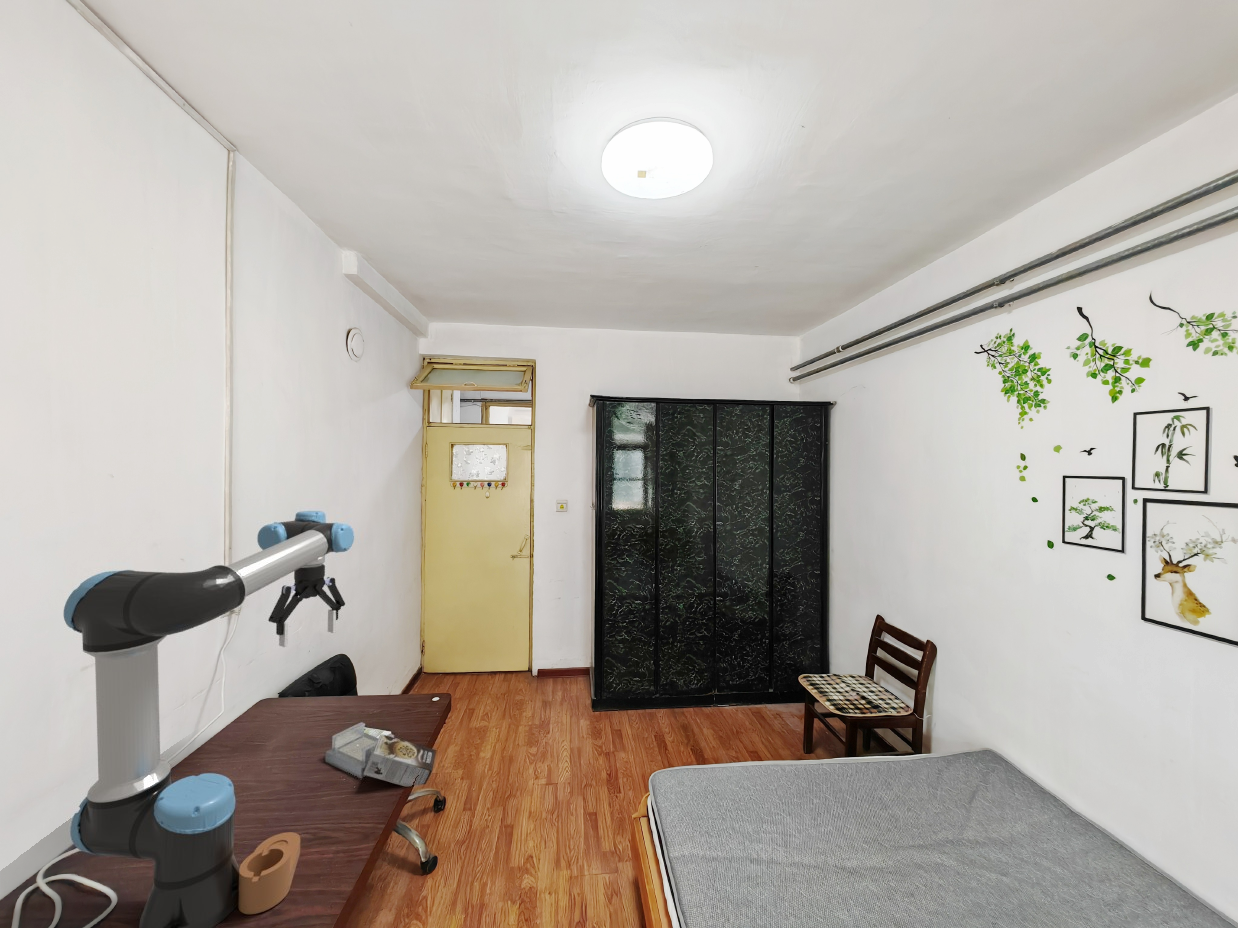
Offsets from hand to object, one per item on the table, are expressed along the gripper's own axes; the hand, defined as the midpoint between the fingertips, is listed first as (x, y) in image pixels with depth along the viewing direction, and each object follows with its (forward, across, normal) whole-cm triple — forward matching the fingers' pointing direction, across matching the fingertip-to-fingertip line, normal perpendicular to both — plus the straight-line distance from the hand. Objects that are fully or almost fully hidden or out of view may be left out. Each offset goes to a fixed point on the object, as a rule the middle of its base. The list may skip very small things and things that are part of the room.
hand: (308, 638), depth 143 cm
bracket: (+35, -27, -35) cm, 56 cm away
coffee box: (+27, +2, -25) cm, 37 cm away
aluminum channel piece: (+35, +8, -14) cm, 38 cm away
